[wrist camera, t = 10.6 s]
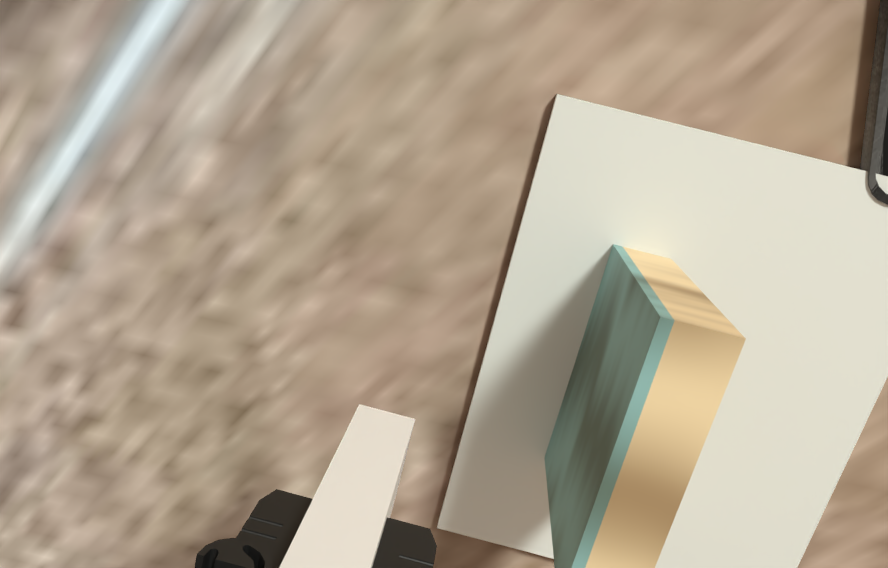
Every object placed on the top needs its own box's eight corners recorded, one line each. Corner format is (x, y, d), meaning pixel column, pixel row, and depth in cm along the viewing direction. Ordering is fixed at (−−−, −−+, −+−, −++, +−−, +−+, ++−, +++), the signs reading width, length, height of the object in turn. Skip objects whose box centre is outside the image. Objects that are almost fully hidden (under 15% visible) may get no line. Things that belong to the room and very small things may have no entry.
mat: (438, 520, 32) (436, 528, 32) (556, 93, 27) (557, 94, 26) (768, 607, 32) (773, 617, 31) (962, 194, 26) (972, 197, 26)
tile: (612, 244, 27) (660, 317, 19) (671, 258, 27) (746, 338, 19) (544, 457, 30) (557, 605, 22) (597, 471, 30) (631, 624, 22)
